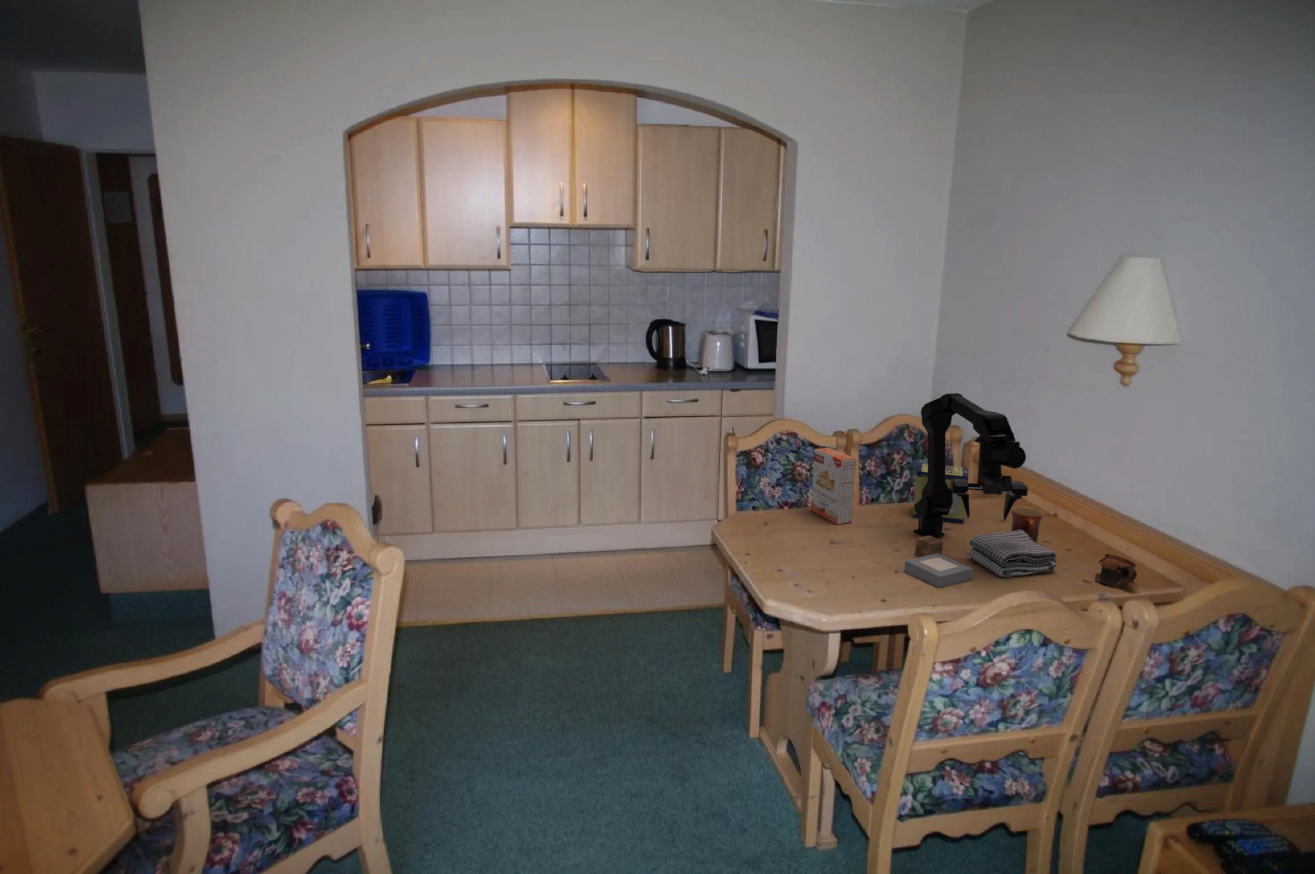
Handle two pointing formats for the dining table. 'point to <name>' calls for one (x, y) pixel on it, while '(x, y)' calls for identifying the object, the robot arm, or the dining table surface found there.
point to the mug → (1027, 521)
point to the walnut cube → (928, 546)
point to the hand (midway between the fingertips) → (986, 518)
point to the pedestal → (938, 570)
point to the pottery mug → (1116, 571)
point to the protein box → (950, 473)
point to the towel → (1011, 554)
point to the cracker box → (833, 485)
